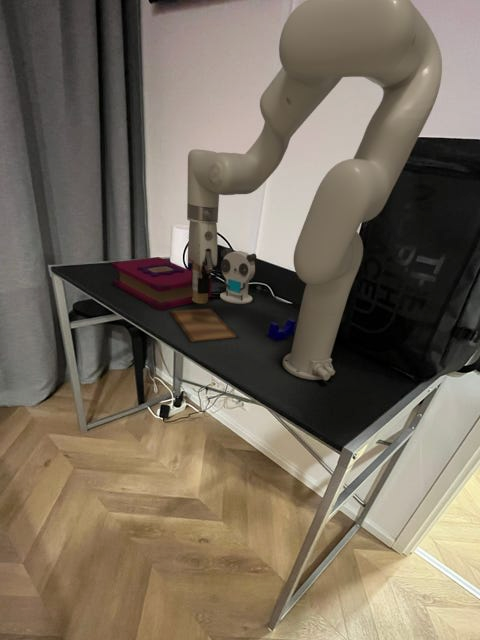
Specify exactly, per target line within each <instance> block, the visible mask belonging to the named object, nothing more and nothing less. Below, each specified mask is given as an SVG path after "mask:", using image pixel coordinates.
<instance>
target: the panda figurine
mask: <svg viewBox="0 0 480 640" xmlns="http://www.w3.org/2000/svg"><path fill="white" fill-rule="evenodd" d="M220 257H222V258H223V259H222V260H221V263H220V270H221V273H222V276H223V277H224V281H223V284H224V286H225V287H226V289H225V290H226V291H224V292H221V293H220V295H219V297H220V299H221V300H222V301H225V302H227V303H230V304H238V305H244V304H250V303H252V301H253V297H252V295H250V294H249V285H250V281H251V280H252V279H253V278H254V276H255V272H256V265H255V264H256V263H255V261H256V260H258V259H257V257H258V256H257V254H256V253H248V252H246V251H242V250H235V251H233V249H232V248H231V247H228V248H223V249H222V250H221V252H220Z"/></svg>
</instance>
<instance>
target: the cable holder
mask: <svg viewBox="0 0 480 640" xmlns="http://www.w3.org/2000/svg"><path fill="white" fill-rule="evenodd" d="M296 324H297V321H296V320H295V319H293V318H288V319H286V322H285V324H284V326H282V327H281V328H280V324H278V323H277V322H275V321H272V322H270V323H269V327H268V335H267V337H269V338H270V339H272V340H273V341H275V342H277V341H283V340H287V337H288V336H292V335H294V333H295V329H296Z"/></svg>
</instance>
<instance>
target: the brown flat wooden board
mask: <svg viewBox="0 0 480 640" xmlns="http://www.w3.org/2000/svg"><path fill="white" fill-rule="evenodd" d="M170 314H171V316H172V317H173V318H174V320H175V321H176V322H177V324H178V326H179V327H180V328H181V330H182V331H183V333H184V334H185V335H186V336H187V338H188V339H189V341H190V342H191V343H192V342H201V341H203V342H204V341H213V340H223V339H233V338H237V334H236V333H235V332H234V331H233V330H232V329H231V328H230V327H229V325H227V323H225V322H224V321H223V320H222V319H221V318H220V316H219V315H218V314H217V313H216V312H215V311H214V310H213V309H212V308H199V309H185V310H183V309H182V310H170Z"/></svg>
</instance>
